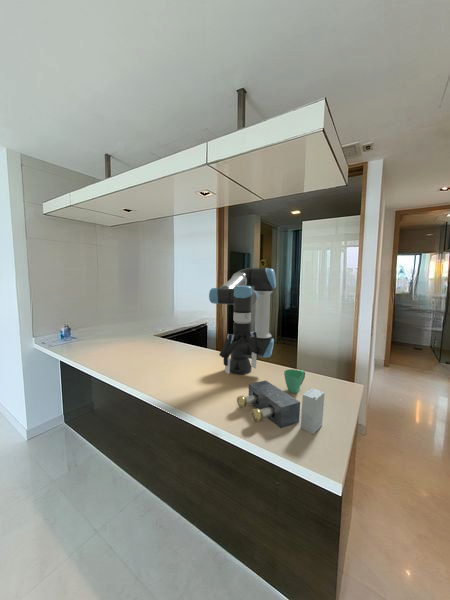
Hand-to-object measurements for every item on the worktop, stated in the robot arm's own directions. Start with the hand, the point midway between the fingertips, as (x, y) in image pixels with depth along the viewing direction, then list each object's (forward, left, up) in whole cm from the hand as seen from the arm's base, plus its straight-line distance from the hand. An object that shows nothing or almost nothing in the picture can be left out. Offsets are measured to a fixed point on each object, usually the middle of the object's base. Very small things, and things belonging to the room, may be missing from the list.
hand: (240, 369), depth 114 cm
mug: (-7, +39, -20) cm, 44 cm away
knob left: (-1, +7, -18) cm, 19 cm away
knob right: (+11, +7, -18) cm, 22 cm away
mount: (+5, +14, -20) cm, 25 cm away
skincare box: (+22, +21, -20) cm, 37 cm away
